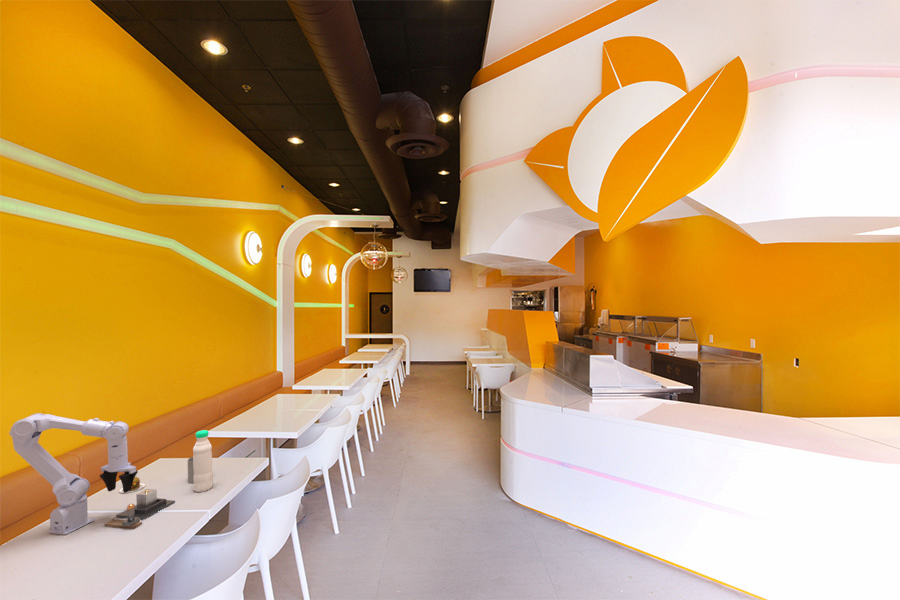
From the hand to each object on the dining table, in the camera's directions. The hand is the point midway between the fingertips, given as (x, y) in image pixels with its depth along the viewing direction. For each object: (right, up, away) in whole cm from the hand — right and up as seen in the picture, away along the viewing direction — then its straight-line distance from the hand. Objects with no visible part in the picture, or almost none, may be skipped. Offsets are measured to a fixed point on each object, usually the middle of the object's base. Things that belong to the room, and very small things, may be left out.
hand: (119, 490), depth 150 cm
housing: (+7, -9, +5) cm, 12 cm away
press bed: (+7, -10, +5) cm, 13 cm away
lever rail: (+7, -10, -6) cm, 13 cm away
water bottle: (+18, -10, +22) cm, 30 cm away
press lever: (+10, -8, -7) cm, 15 cm away
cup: (+10, -10, +32) cm, 35 cm away
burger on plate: (-14, -12, +24) cm, 30 cm away
